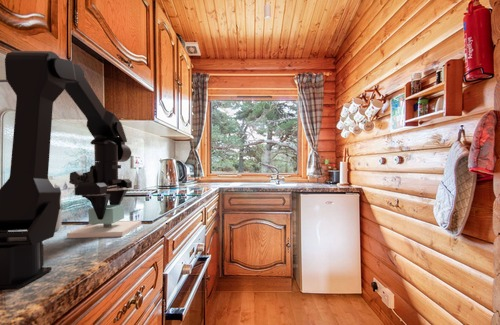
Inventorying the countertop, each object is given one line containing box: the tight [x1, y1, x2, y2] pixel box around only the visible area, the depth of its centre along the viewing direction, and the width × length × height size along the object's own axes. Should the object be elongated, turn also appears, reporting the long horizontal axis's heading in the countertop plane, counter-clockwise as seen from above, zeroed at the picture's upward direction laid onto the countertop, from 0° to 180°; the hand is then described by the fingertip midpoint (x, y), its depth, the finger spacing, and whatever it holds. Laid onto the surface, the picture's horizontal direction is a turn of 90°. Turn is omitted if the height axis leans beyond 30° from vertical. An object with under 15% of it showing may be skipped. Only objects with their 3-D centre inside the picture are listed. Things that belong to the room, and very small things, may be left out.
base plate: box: [66, 220, 142, 239], centre depth 69 cm, size 12×14×5 cm
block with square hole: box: [87, 204, 125, 225], centre depth 69 cm, size 6×6×4 cm
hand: (107, 216), depth 69 cm, fingers closed on block with square hole, 6 cm apart
